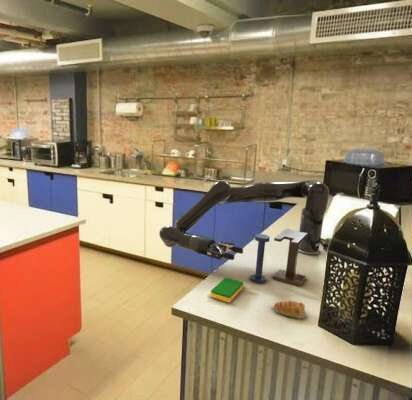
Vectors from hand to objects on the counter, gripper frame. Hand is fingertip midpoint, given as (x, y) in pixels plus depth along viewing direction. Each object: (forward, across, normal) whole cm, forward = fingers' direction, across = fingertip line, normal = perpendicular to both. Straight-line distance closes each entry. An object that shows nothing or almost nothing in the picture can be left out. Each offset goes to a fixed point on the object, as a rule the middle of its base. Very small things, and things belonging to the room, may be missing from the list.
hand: (238, 254), depth 147 cm
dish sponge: (+4, -17, +9) cm, 19 cm away
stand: (+18, +5, +8) cm, 20 cm away
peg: (+9, 0, +8) cm, 12 cm away
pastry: (+26, -17, +9) cm, 32 cm away
